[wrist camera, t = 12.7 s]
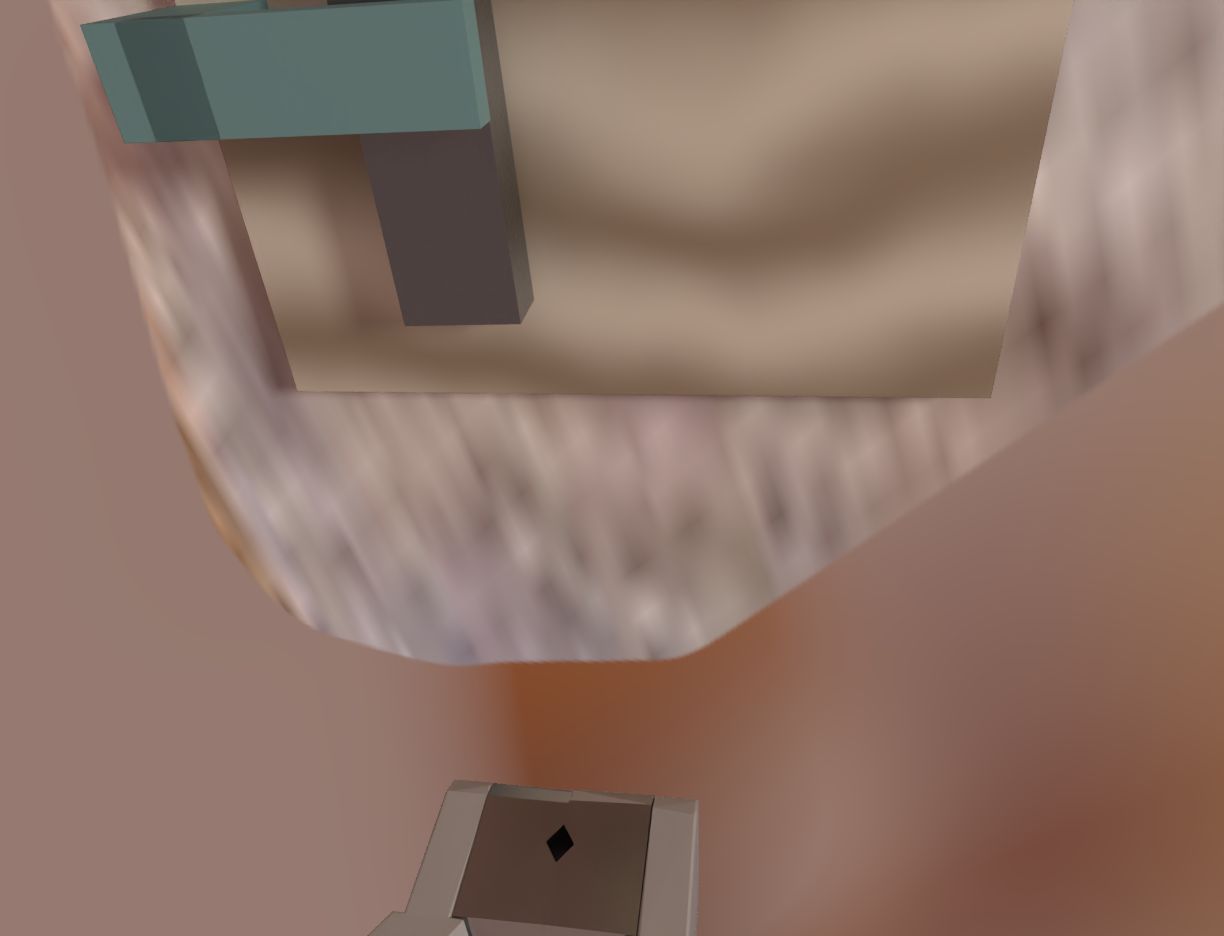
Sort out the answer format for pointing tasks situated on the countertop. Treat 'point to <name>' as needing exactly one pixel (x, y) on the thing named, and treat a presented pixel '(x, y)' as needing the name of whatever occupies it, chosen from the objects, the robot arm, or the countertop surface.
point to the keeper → (291, 70)
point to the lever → (454, 211)
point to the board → (702, 204)
